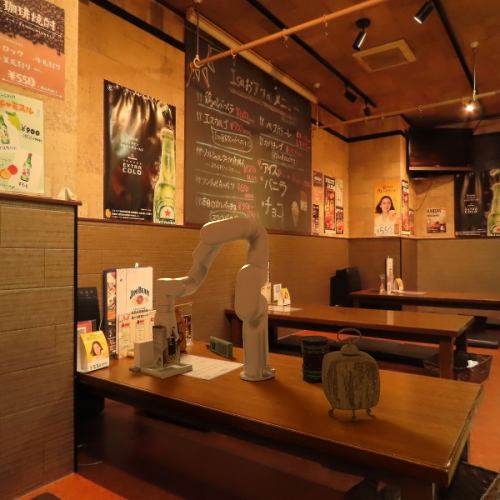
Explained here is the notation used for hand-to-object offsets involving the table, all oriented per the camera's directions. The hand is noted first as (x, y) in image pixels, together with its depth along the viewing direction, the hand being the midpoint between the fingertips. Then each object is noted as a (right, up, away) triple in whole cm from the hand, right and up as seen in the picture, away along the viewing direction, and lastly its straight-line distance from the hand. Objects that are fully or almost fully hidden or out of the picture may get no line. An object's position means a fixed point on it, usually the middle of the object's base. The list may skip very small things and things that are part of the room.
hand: (166, 352), depth 166 cm
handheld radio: (+19, -7, +29) cm, 35 cm away
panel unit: (-7, -8, +9) cm, 14 cm away
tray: (0, -7, 0) cm, 7 cm away
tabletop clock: (+62, -5, -52) cm, 81 cm away
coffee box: (0, -5, 0) cm, 5 cm away
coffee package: (-3, -8, +32) cm, 33 cm away
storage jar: (+58, -6, -16) cm, 60 cm away
